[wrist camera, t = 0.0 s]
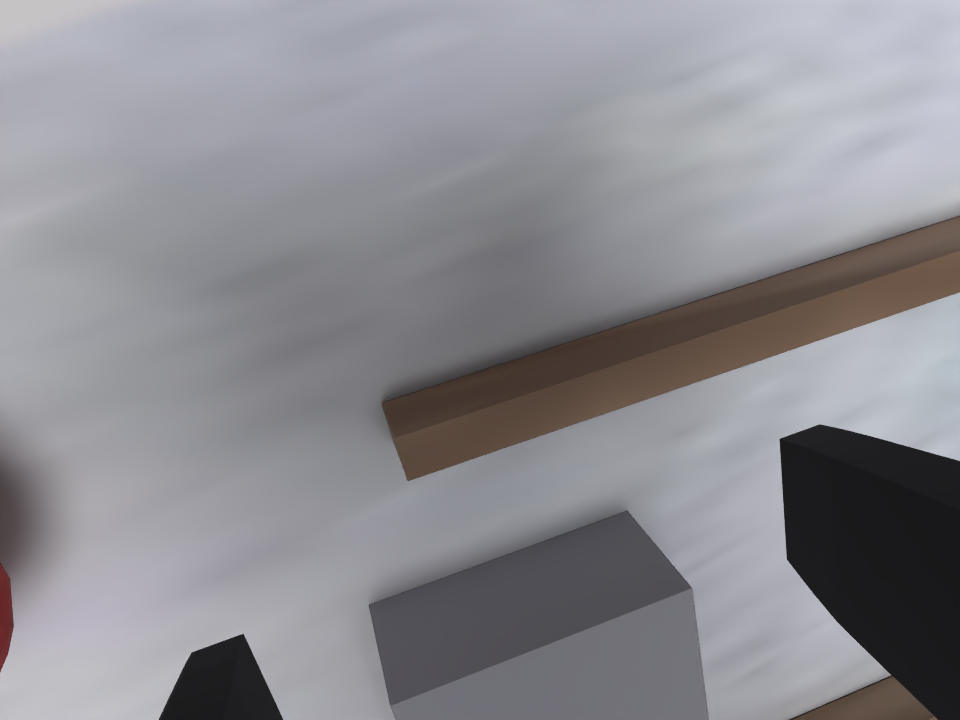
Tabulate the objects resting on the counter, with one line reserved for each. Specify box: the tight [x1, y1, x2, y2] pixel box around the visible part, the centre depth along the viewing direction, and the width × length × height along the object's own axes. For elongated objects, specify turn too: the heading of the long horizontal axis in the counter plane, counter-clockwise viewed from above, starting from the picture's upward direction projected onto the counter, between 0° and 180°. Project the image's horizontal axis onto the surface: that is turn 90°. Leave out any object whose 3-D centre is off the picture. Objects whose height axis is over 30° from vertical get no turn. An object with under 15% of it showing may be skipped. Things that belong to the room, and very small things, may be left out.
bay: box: [382, 216, 960, 720], centre depth 23 cm, size 19×20×3 cm
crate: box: [369, 511, 709, 720], centre depth 22 cm, size 7×8×4 cm
